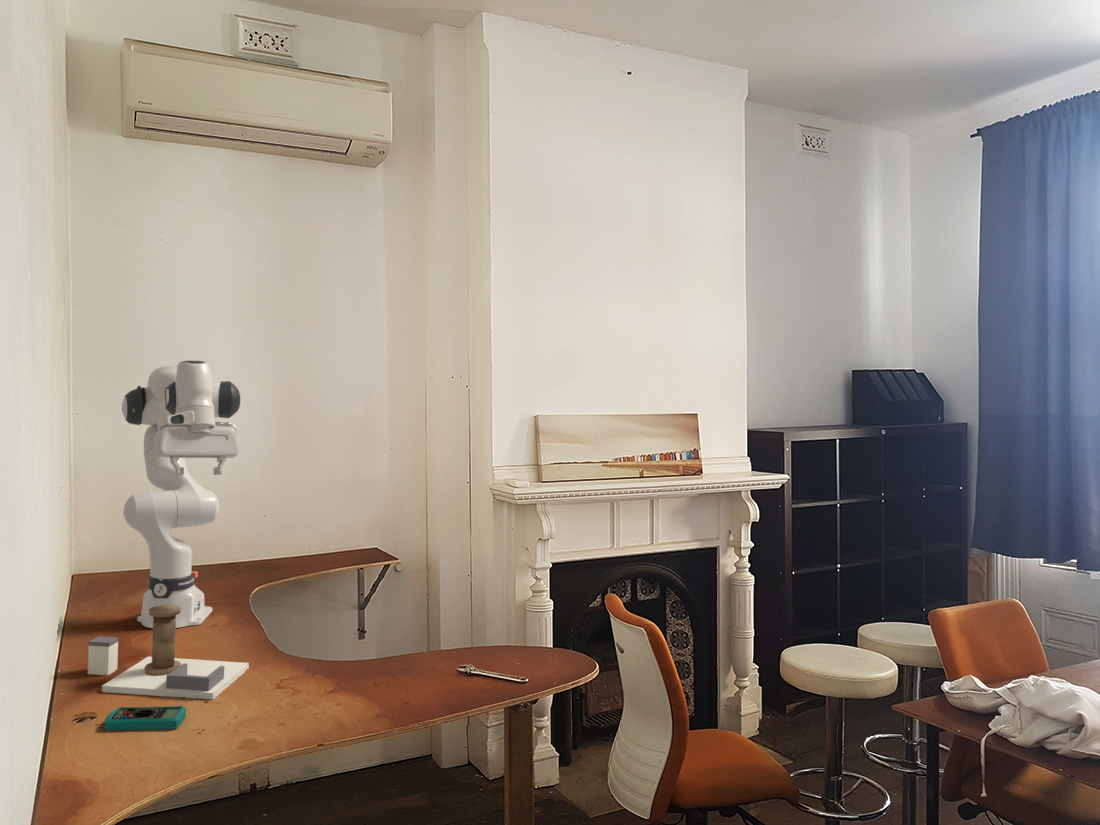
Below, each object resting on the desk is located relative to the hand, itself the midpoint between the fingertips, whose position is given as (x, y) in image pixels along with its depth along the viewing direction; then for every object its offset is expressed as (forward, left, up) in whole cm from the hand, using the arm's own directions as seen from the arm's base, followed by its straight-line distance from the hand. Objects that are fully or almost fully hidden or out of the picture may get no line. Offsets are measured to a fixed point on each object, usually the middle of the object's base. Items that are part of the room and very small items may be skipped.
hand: (199, 474), depth 205 cm
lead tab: (+8, -18, -49) cm, 53 cm away
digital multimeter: (+34, +7, -49) cm, 60 cm away
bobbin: (+8, -3, -47) cm, 48 cm away
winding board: (+10, +2, -49) cm, 50 cm away
